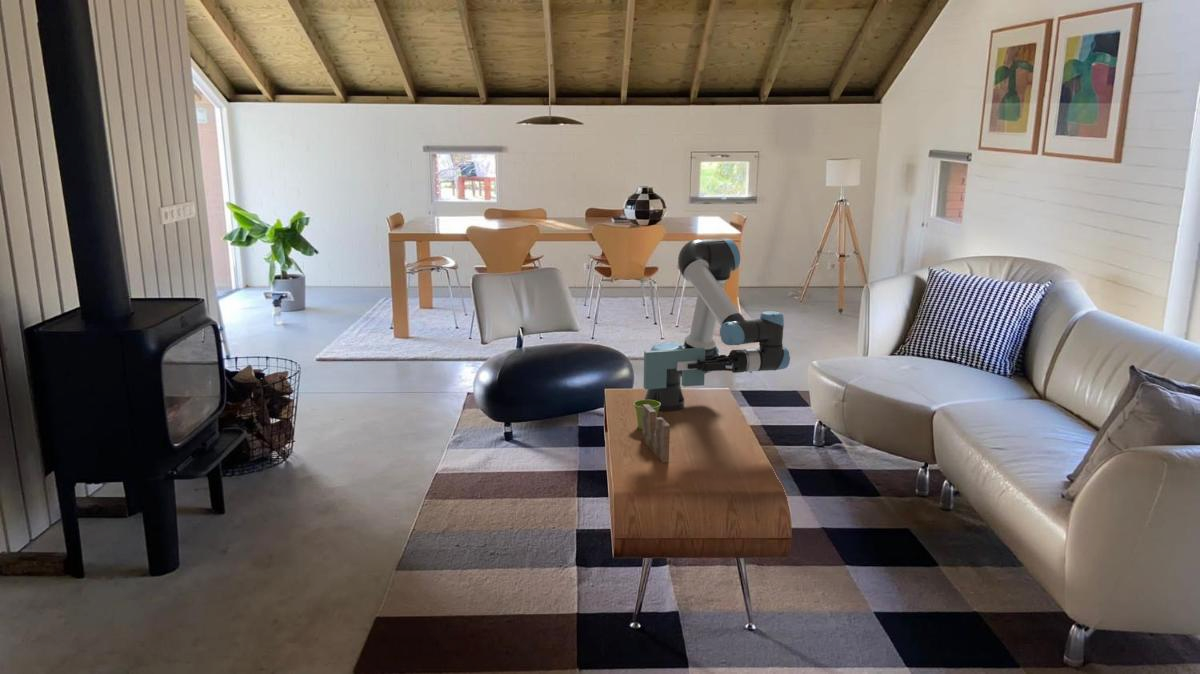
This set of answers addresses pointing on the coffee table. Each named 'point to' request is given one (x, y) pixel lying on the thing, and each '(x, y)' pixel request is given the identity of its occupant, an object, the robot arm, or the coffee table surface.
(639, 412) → the plant pot
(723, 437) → the coffee table surface
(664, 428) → the walnut board
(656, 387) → the slotted plate
